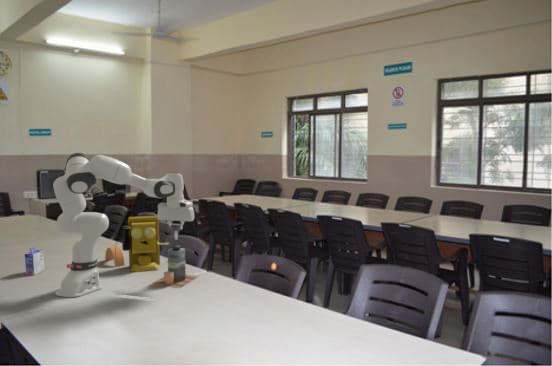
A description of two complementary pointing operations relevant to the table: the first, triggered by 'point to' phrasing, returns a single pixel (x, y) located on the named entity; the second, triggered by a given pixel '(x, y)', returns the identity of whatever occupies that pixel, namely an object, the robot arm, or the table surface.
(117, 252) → the arch
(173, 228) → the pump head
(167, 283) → the pink egg shape
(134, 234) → the vintage telephone
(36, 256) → the ink cartridge box
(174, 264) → the stand
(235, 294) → the table surface
